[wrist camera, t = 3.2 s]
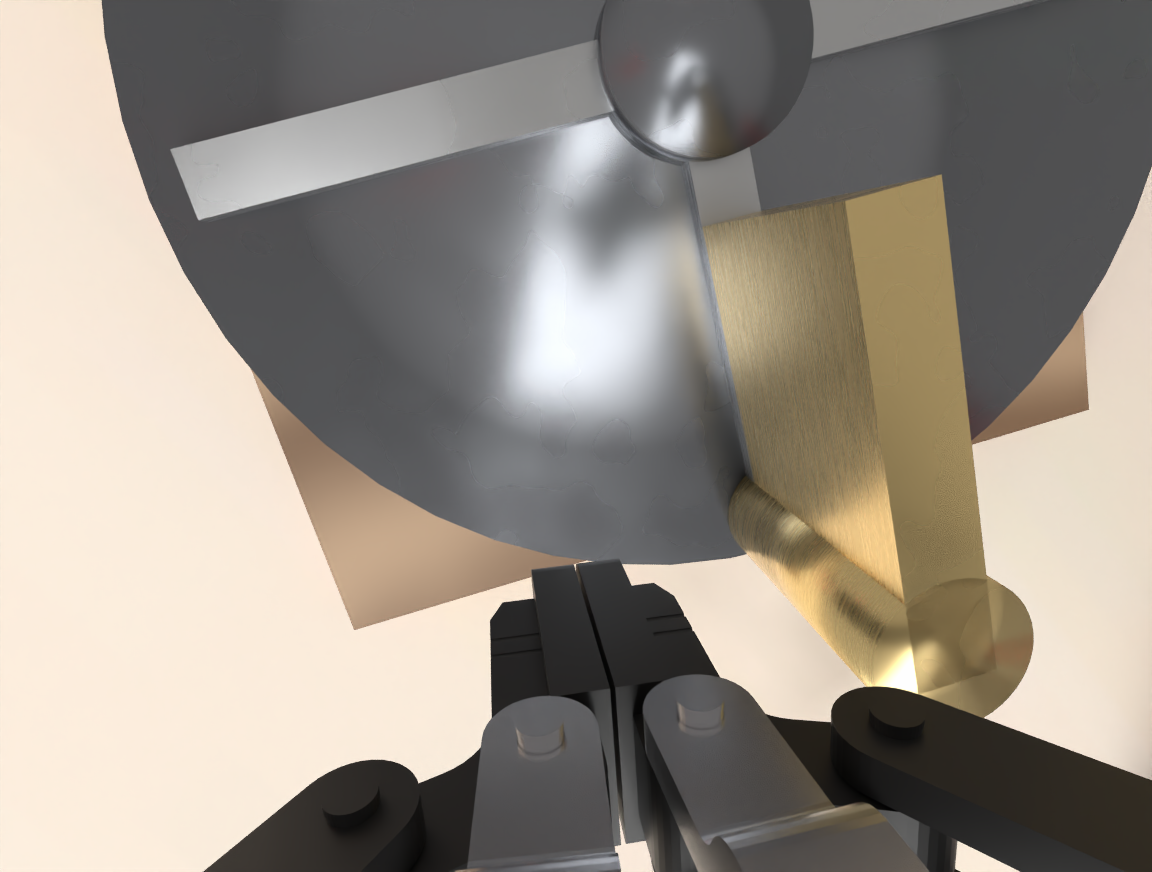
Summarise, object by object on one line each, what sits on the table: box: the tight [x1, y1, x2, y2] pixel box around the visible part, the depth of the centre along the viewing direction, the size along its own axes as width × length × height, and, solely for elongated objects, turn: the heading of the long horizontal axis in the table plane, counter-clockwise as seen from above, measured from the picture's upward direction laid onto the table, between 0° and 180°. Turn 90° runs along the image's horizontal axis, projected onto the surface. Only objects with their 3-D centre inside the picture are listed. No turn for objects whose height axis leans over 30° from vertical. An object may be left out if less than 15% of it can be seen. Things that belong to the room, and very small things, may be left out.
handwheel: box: [102, 0, 1152, 718], centre depth 12 cm, size 24×24×8 cm
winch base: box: [251, 312, 1089, 630], centre depth 19 cm, size 27×26×5 cm
